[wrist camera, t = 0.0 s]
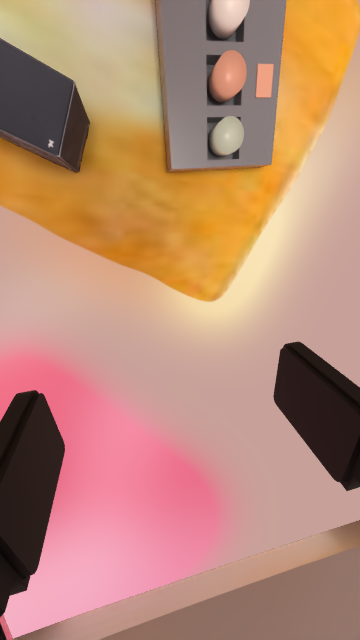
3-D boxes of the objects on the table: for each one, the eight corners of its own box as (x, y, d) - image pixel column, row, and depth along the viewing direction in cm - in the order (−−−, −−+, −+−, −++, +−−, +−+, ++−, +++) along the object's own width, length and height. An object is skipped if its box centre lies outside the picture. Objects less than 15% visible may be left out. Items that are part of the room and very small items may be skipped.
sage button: (208, 122, 30) (215, 116, 28) (235, 122, 30) (244, 115, 28) (209, 157, 31) (215, 153, 29) (234, 156, 32) (243, 152, 30)
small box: (92, 118, 29) (78, 78, 20) (79, 174, 31) (61, 162, 22) (-9, 62, 26) (-84, -18, 16) (-17, 130, 28) (-86, 94, 18)
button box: (154, -13, 26) (158, -40, 23) (272, -4, 28) (289, -27, 25) (167, 172, 33) (171, 169, 30) (260, 167, 36) (272, 164, 33)
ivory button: (207, -11, 25) (216, -32, 23) (240, -9, 26) (251, -29, 23) (208, 38, 27) (215, 23, 24) (238, 39, 27) (248, 25, 25)
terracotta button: (208, 62, 27) (215, 49, 25) (237, 62, 28) (247, 50, 26) (208, 102, 29) (215, 94, 27) (236, 102, 30) (245, 94, 27)
